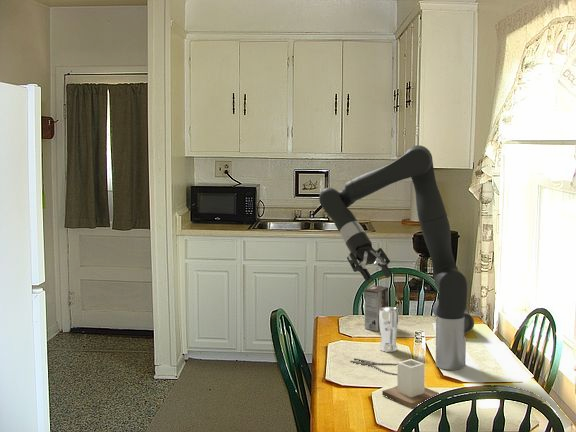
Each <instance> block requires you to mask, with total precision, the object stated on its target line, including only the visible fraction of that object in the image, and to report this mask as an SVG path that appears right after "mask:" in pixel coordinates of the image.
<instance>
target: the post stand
mask: <svg viewBox="0 0 576 432" xmlns="http://www.w3.org/2000/svg"><path fill="white" fill-rule="evenodd" d="M409 366H411V367H412V366H413V365H409ZM397 386H398V385H397ZM397 386H394V387H391V388H390V387H389V388H387V389H385V390H382V394H381V395H385V396H387V397H388V398H387V399H389V398H391V399H393V400H395V401H394V402H396V401H397V402H396V403H398V402H399V403H398V404H400V403H401V404H400V405H403V406H405V405H406V406H405V407H407V406H408V408H410V407H411V408H410V409H414V408H416V407H415V406H417V405H418V404H420V403H422V402H424V401H425V400H427V399H429V398H431V397H433V396H435V395H437V394H439V393H440V392H438V391H435V390H432V389H430V388H427V387H425V386H424V393H423V394H420V395H417V396H414V397H409V396H406V395H404V394H402V393H399V392H397ZM391 399H390V400H391ZM393 400H392V401H393ZM413 407H414V408H413ZM417 407H418V406H417Z"/></svg>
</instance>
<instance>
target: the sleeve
mask: <svg viewBox="0 0 576 432" xmlns="http://www.w3.org/2000/svg"><path fill="white" fill-rule="evenodd" d="M397 364H398V366H397V374H398V375H397V392H399V393H402V394H404V395H406V396H409V397H414V396H417V395H420V394H423V393H424V387H425V380H426V379H425V377H426V376H425V373H426V371H425V369H426V368H425V367H426V366H425V365H426V364H425V363H423V362H421V361H418V360H415V359H412V358H410V359H406V360H403V361H399V362H397ZM409 365H413V366H412V367H411V366H409Z"/></svg>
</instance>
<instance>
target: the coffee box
mask: <svg viewBox="0 0 576 432" xmlns="http://www.w3.org/2000/svg"><path fill="white" fill-rule="evenodd" d="M389 302H390V301H389V287H388V286H382V285H376V284H375V285H373V286H370V287H368V288H366V289H364V329H365V330H369V331H370V330H371V331H376V332H380V328H379V311H380V308H382V307H390V306H389V305H390V304H389Z"/></svg>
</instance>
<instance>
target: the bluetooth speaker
mask: <svg viewBox="0 0 576 432" xmlns="http://www.w3.org/2000/svg"><path fill="white" fill-rule="evenodd" d="M438 303H439V299H437V300H436V301H435V302H434V304H433V306H432V313H433V315H434V316H435V317H436V308H437V306H438ZM474 326H475V321H474V317H473V316H472V315H471V313H469V312H468V311H466V310H465V315H464V335H466V334H468V333H470V332H471V331H473V329H474Z"/></svg>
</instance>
